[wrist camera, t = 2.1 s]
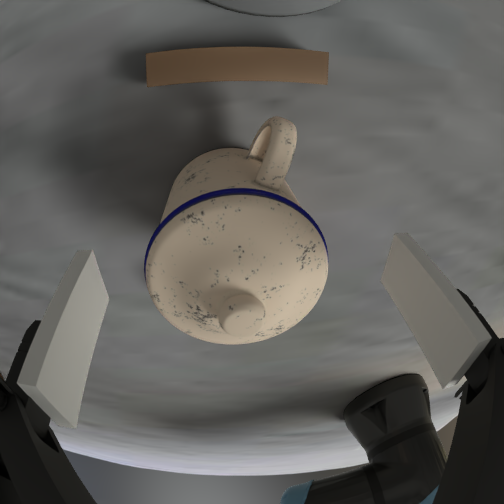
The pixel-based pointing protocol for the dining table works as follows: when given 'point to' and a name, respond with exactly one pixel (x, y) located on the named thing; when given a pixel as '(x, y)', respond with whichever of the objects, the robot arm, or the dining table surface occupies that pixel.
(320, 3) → the grey flat disc
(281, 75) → the walnut cradle
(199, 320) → the teacup with lid
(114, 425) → the dining table surface
